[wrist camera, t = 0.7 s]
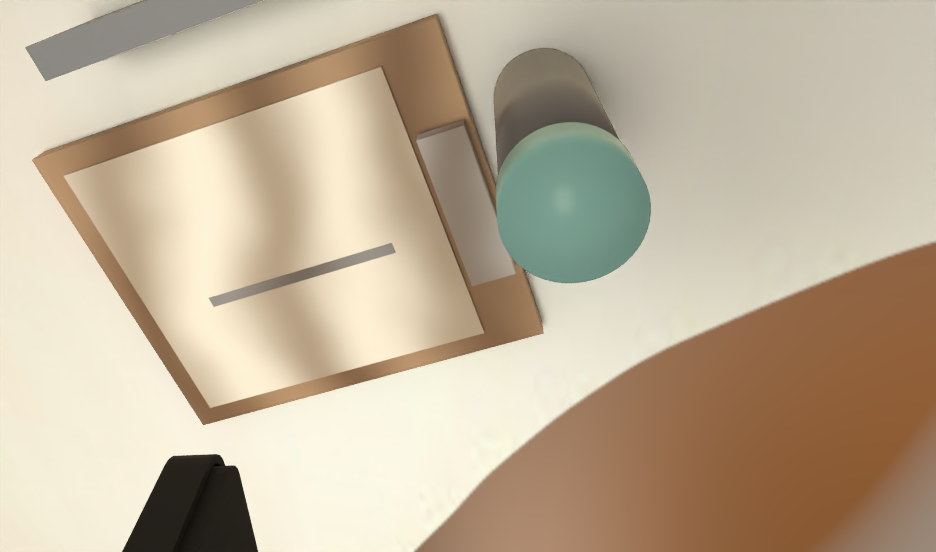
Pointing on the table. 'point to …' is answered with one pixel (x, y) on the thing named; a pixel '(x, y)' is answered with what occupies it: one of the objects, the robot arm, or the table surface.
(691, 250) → the table surface
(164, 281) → the clipboard
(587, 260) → the marker
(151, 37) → the bar
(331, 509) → the table surface
